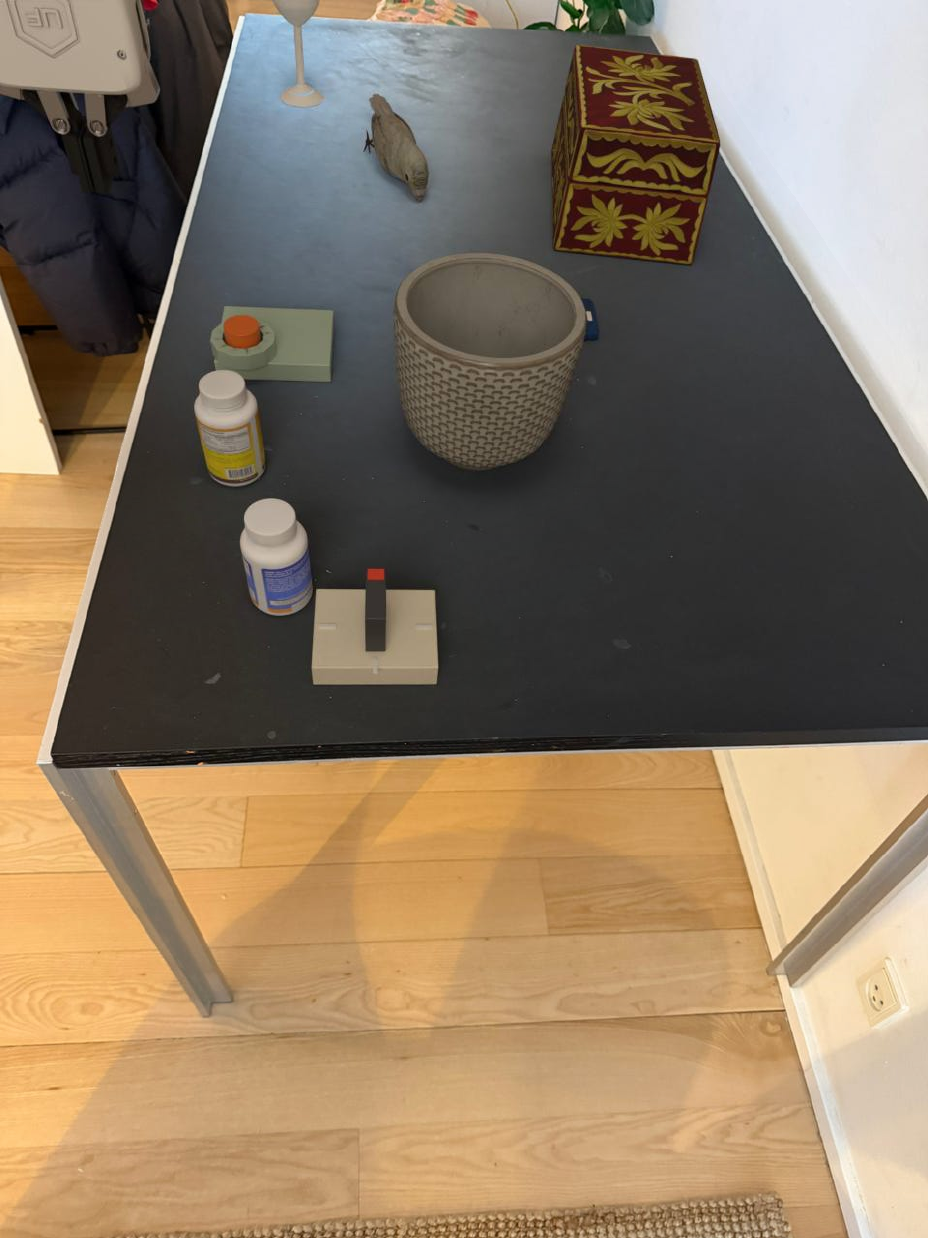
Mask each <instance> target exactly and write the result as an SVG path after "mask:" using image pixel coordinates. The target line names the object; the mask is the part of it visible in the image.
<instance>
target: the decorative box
mask: <svg viewBox="0 0 928 1238" xmlns="http://www.w3.org/2000/svg"><path fill="white" fill-rule="evenodd" d="M704 80H705V79H704V77H703V73H702V70H701V66H700V63H699V60H698V58H694V57H687V56H678V55H669V54H660V53H653V52H643V51H636V50H635V51H634V50H627V49H617V48H609V47H600V46H593V45H592V46H591V45H584V44H575V46H574V48H573V53H572V56H571V61H570V66H569V71H568V74H567V78H566V84H565V88H564V93H563V96H562V102H561V105H560V111H559V115H558V120H557V123H556V128H555V133H554V138H553V142H552V146H551V150H550V157H551V158H550V159H551V162H550V163H551V165H550V166H551V170H550V171H551V178H552V177H553V187H552V186H551V211H552V212H551V217H552V218H551V219H552V220H551V223H552V248H553V250H554V251H559V252H567V253H577V254H584V255H592V256H594V255H595V256H604V257H613V258H623V259H632V260H640V261H649V262H650V261H651V262H657V263H658V262H659V263H669V264H677V265H688V266H690V265H693V263H694V259H695V255H696V253H697V252H696V251H697V248H698V243H699V239H700V235H701V231H702V226H703V222H704V217H705V213H706V208H707V204H708V200H709V195H710V193H711V192H710V191H711V188H712V184H713V179H714V175H715V171H716V166H717V162H718V158H719V155H720V150H721V149H720V148H721V139H720V135H719V134H720V133H719V131H718V128H717V123H716V120H715V116H714V113H713V109H712V106H711V101H710V99H709V94H708V92H707V87H706V84H705V81H704ZM552 150H553V151H552Z"/></svg>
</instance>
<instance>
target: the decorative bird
mask: <svg viewBox="0 0 928 1238" xmlns="http://www.w3.org/2000/svg"><path fill="white" fill-rule="evenodd" d="M368 101H369V103H370V108H371V109H372V111H373V112H374V113H373V114H372V116H371V123H370V127H371V138H370V134H369V131H368V130H367V129H365V130H366V139H365V146H364V148H363V151H362V153H365V152H366V150H367V148H368V154H369V155H370V154H371V148H373V149H374V151H375V154H376V157H377V160H378V162H379V163H380V165H381V167H382V168H383V170H384V171H385V172H387V174H388V175H390V176H392V177H394V178H396V179H398V180H400V181H402V182H404V183H406V185H407V186H408V187H409V190H410V192H411V194H412V195H413V197H414V198H415V199H416V200H417V202H418V203H421V202H422V201H423V198H424V197H425V194H426V192H427V188H428V183H429V176H430V171H429V164H428V160H427V158H426V156H425V154H424V153H423V151H422V150H421V149H420V147H419V146H418V144H417V141H416V138H415V135H414V133H413V130H412V128H411V126H410V125H409V124H408V123H407V121H406V120H405V119H404V118H403V117H402V116H400V115H399V114H398V113H396V112H394V111H393V108H392V106H391V105H390V103H389V101H387V100H386V98H385V96H381V95H380V94H379V93H373V94H372V96H371V97H369V99H368Z"/></svg>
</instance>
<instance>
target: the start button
mask: <svg viewBox="0 0 928 1238" xmlns="http://www.w3.org/2000/svg"><path fill="white" fill-rule="evenodd" d="M223 327H224V333H225V339H226V343H227V344H228V345H229V346H231V347H233V348H241V349H247V348H250V347H254V346H257V345H258V344H259V343H260V341H261V335H260V327H259V323H258V321H257V320H256V319H255V318H253V317H251V316H247V315H237V316H233V317H230V318H228V319H227V320H226V321H225V322H224V326H223Z"/></svg>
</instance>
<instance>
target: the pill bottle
mask: <svg viewBox="0 0 928 1238" xmlns="http://www.w3.org/2000/svg"><path fill="white" fill-rule="evenodd" d="M243 522H244V523H243V524H244V528H243V529H242V531H241V534H240V538H239V547H240V553H241V557H242V561H243V566H244V567H243V568H244V571H245V576H246V577H245V578H246V581H247V586H248V593H249V596H250V598H251V601H252V603H253V604H254V605H255V607H257V609H258V610H260V611H261V612H263V613H265V614H268V615H271V616H279V617H280V616H289V615H292V614H295V613H297V612H299V611H301V610H302V609H304V608H305V607H306V606H307V605H308V604H309V602H310V601H311V599H312V596H313V593H314V592H313V591H314V585H313V584H314V583H313V575H312V568H311V559H310V548H309V540H308V534H307V532H306V529H305V528H304V526H303V525H302V524H301V523H300V522H299V521H298V520H297V515H296V511H295V510H294V508H293V506H291V504H290V503H288V502H287V501H284V500H282V499H279V498H274V497H273V498H270V497H269V498H263V499H259V500H257V501H255V502H253V503H252V504H251V505H250V506H248V507H247V509H246V510H245V512H244V514H243Z"/></svg>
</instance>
